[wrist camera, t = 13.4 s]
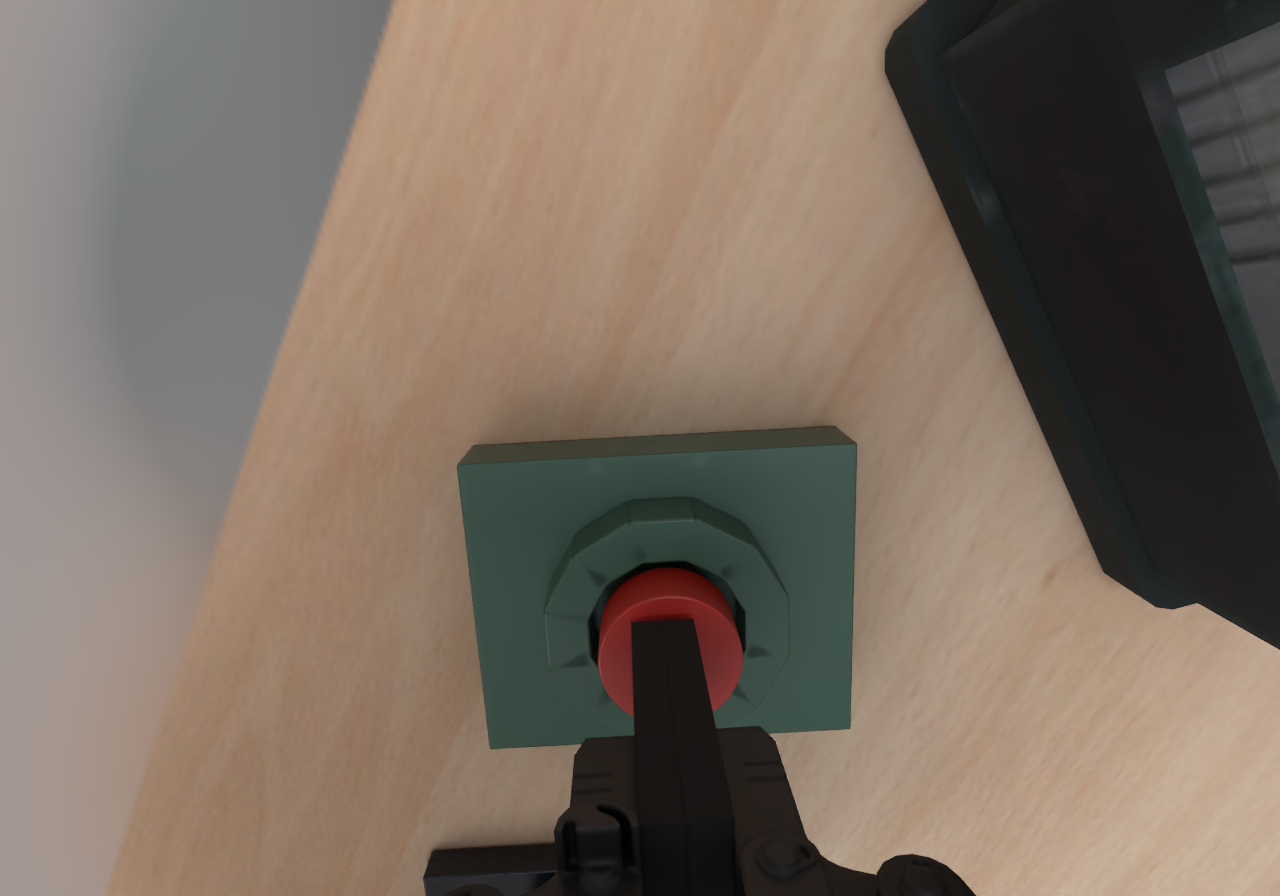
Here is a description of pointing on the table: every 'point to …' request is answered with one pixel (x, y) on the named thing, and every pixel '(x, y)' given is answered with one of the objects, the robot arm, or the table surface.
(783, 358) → the table surface
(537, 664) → the button box
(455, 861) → the switch bracket
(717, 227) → the table surface
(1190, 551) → the light fixture
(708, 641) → the button
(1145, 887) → the table surface
